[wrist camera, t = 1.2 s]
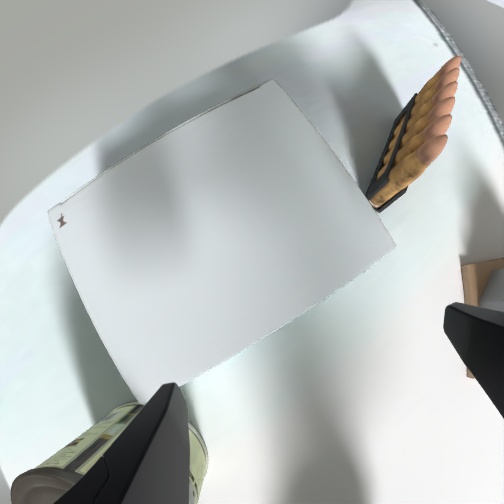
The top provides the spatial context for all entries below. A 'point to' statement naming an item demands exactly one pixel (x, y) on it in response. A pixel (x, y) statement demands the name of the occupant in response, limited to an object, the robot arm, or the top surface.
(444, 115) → the ammunition clip
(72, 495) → the robot arm
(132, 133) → the top surface
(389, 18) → the top surface
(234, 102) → the supplement box
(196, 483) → the coffee can
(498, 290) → the pump canister
